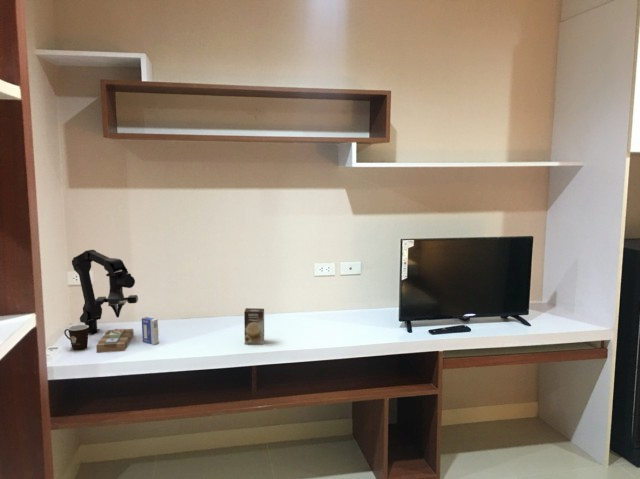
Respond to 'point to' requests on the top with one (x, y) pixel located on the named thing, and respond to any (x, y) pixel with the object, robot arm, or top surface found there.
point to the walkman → (150, 330)
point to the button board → (115, 347)
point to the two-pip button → (119, 330)
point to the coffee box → (254, 326)
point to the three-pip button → (115, 334)
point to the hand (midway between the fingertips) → (117, 317)
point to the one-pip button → (112, 340)
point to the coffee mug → (78, 337)
